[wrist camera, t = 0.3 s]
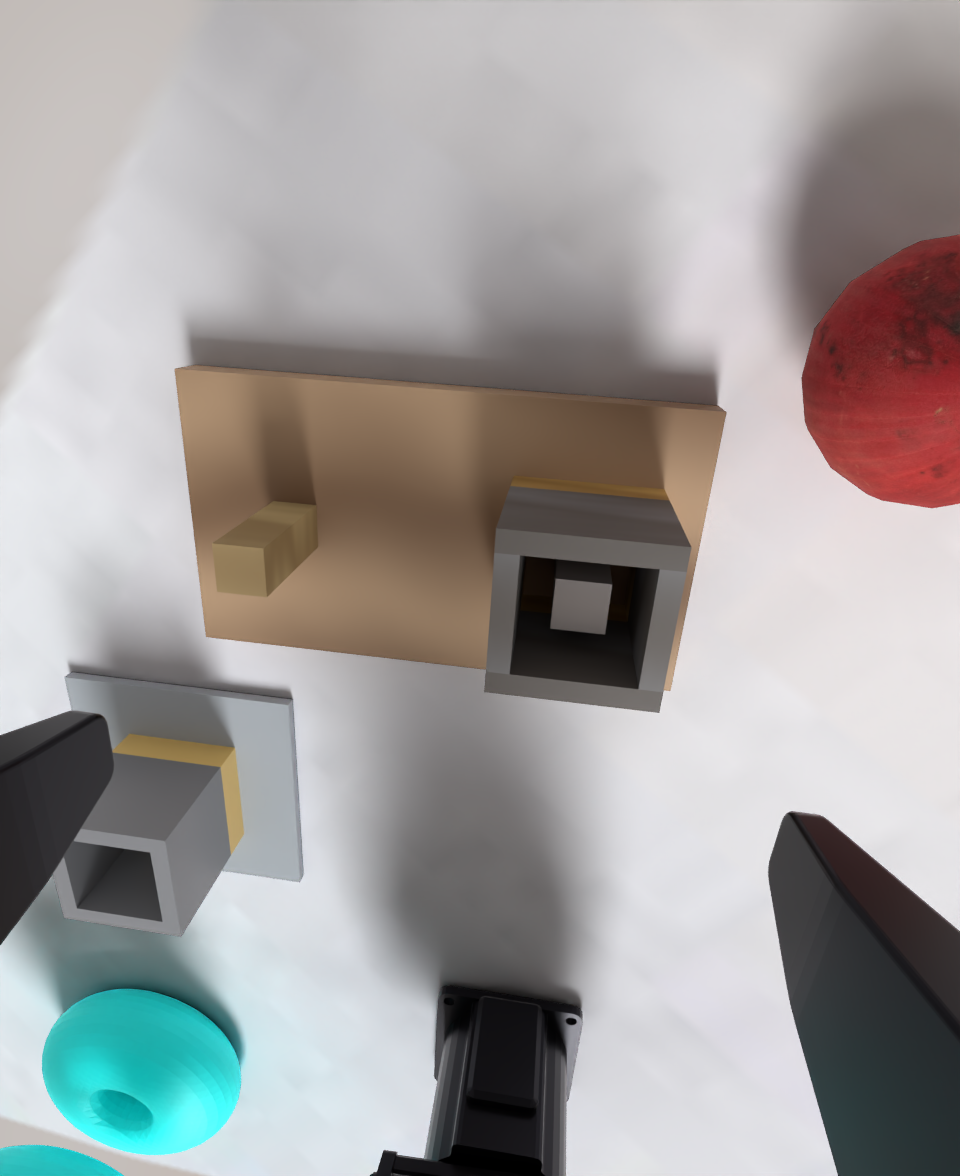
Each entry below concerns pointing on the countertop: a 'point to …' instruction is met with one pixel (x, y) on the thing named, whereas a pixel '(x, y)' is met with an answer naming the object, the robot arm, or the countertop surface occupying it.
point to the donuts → (132, 1081)
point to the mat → (225, 721)
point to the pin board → (451, 525)
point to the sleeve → (154, 836)
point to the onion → (892, 378)
